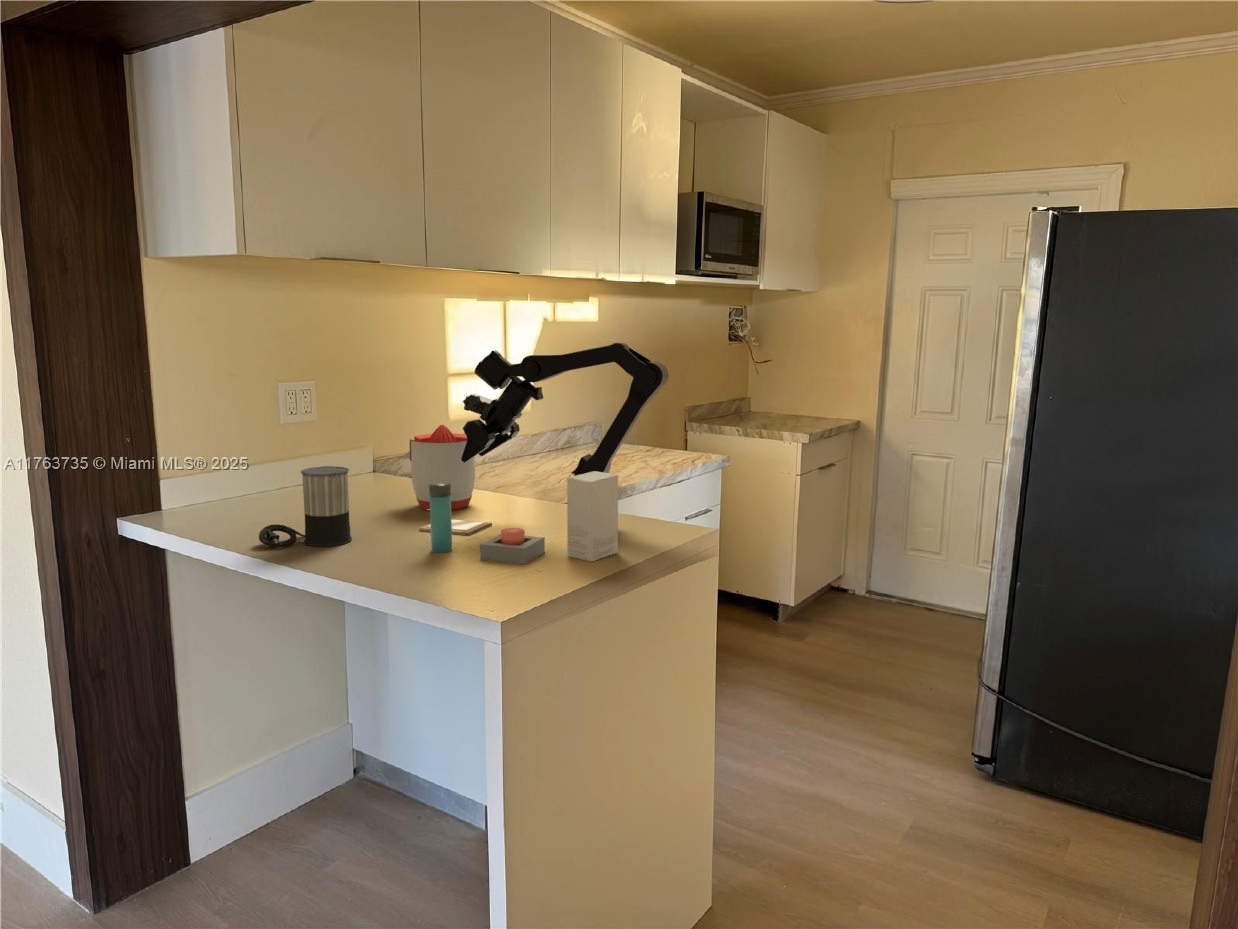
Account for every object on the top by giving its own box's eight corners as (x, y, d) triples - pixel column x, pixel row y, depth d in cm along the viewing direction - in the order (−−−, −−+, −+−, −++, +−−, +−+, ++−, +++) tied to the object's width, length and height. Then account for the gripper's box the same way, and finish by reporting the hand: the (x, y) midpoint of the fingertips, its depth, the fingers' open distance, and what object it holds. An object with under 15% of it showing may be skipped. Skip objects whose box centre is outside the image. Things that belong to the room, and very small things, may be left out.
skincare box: (594, 548, 168) (594, 470, 165) (620, 554, 164) (620, 474, 161) (565, 556, 161) (565, 476, 159) (591, 563, 157) (591, 480, 155)
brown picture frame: (491, 525, 187) (491, 521, 187) (468, 535, 177) (468, 531, 177) (444, 520, 191) (444, 517, 191) (419, 530, 182) (419, 527, 181)
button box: (544, 552, 164) (544, 537, 164) (523, 564, 156) (523, 548, 156) (503, 548, 167) (502, 533, 167) (480, 559, 159) (480, 544, 159)
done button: (528, 544, 163) (528, 528, 162) (518, 549, 159) (517, 534, 158) (507, 542, 164) (507, 526, 164) (497, 547, 160) (496, 532, 160)
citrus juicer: (411, 500, 213) (408, 420, 210) (480, 500, 214) (479, 420, 211) (397, 513, 198) (394, 428, 195) (472, 513, 199) (470, 428, 195)
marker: (456, 548, 167) (455, 483, 165) (445, 553, 163) (443, 487, 161) (438, 546, 169) (436, 481, 167) (426, 551, 165) (424, 485, 163)
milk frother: (362, 540, 173) (358, 468, 171) (294, 557, 160) (289, 480, 158) (318, 530, 181) (314, 462, 179) (250, 546, 168) (245, 472, 166)
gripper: (499, 377, 194) (462, 430, 198) (465, 382, 176) (424, 440, 180) (536, 408, 193) (498, 460, 197) (505, 416, 175) (464, 473, 179)
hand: (471, 458), depth 188 cm, fingers open, 9 cm apart
